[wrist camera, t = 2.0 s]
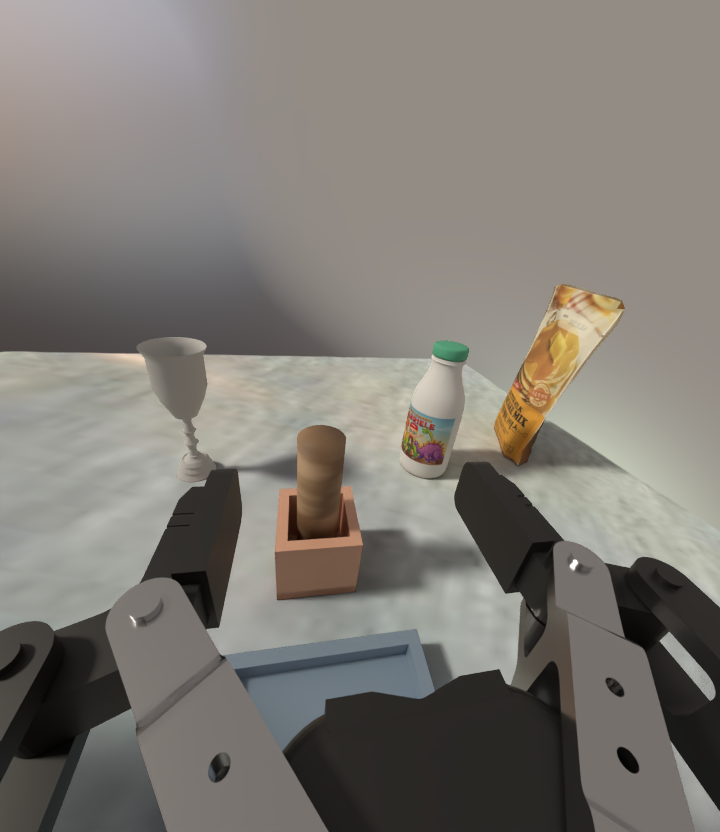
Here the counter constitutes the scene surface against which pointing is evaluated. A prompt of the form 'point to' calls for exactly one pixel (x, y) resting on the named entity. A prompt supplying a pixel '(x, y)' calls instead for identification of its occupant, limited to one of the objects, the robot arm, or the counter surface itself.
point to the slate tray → (329, 676)
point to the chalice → (180, 392)
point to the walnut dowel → (319, 481)
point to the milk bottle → (435, 413)
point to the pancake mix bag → (553, 363)
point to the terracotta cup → (316, 552)
